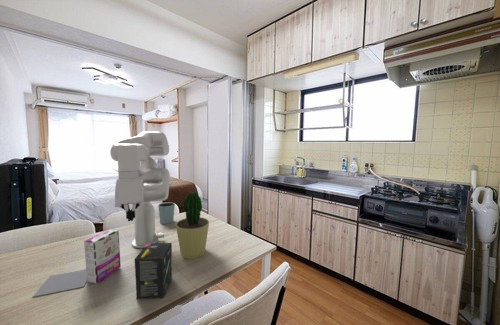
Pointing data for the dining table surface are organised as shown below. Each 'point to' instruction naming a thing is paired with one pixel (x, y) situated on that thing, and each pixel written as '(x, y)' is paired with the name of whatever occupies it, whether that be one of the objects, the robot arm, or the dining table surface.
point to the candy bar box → (102, 255)
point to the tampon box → (153, 270)
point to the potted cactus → (192, 228)
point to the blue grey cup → (166, 212)
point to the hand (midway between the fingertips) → (130, 219)
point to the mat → (63, 283)
